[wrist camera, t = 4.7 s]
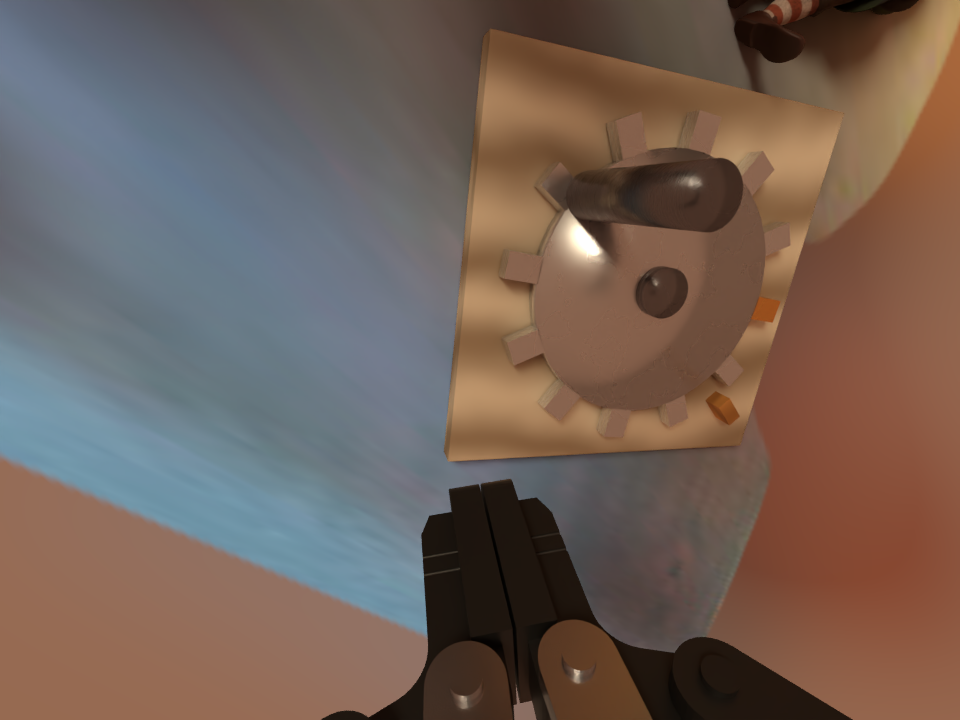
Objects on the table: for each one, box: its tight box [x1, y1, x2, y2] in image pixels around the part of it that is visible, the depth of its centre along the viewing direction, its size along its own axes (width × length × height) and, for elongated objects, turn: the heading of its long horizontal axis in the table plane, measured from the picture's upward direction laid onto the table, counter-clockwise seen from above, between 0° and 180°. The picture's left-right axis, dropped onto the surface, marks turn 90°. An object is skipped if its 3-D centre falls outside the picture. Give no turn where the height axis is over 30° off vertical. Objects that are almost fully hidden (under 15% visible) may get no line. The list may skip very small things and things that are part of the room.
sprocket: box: [499, 110, 790, 437], centre depth 29 cm, size 24×24×12 cm
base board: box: [444, 29, 844, 461], centre depth 35 cm, size 28×28×3 cm
